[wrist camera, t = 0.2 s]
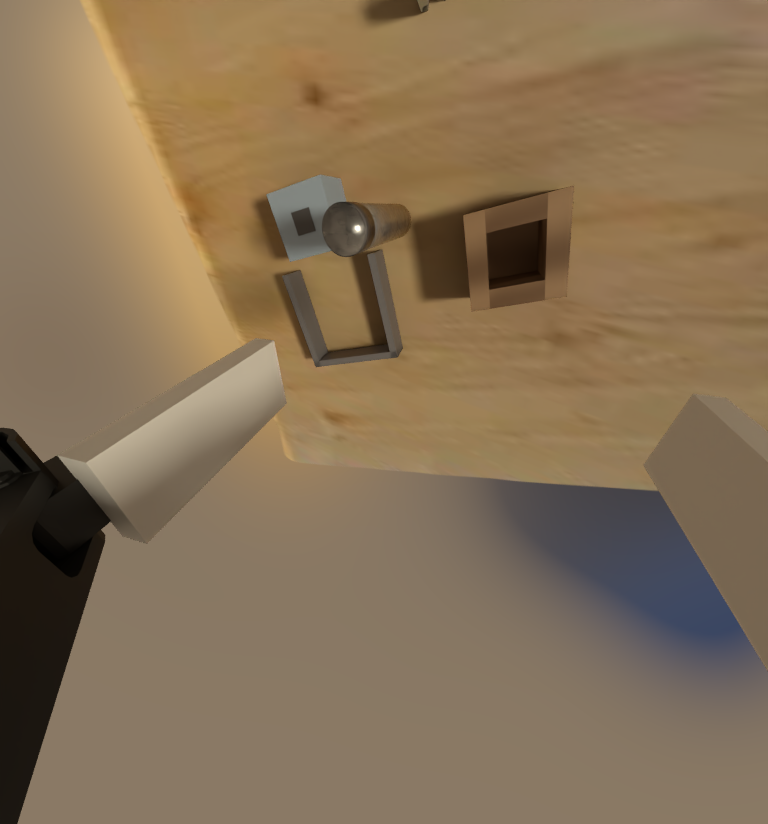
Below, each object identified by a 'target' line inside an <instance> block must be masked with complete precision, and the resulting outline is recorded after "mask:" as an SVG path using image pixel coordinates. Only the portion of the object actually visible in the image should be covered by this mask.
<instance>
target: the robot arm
mask: <svg viewBox="0 0 768 824" xmlns="http://www.w3.org/2000/svg"><path fill="white" fill-rule="evenodd" d="M285 404H286V398H285V393H284V388H283V383H282V378H281V373H280V368H279V363H278V358H277V353H276V348H275V343H274V341H273V340H266V339H258V338H255V339H254V340H252V341H250V342H249V343H247V344H245V345H243V346H242V347H240V348H238V349H237V350H235V351H233V352H232V353H230V354H229V355H226V356H225V357H223V358H222V359H220V360H218V361H216V362H215V363H213V364H212V365H209V366H208V367H206V368H204V369H203V370H201V371H199V372H198V373H196V374H194V375H192V376H191V377H189V378H187V379H186V380H184V381H182V382H181V383H179V384H177V385H176V386H174V387H172V388H170V389H169V390H167V391H165V392H164V393H162V394H161V395H159V396H157V397H155V398H153V399H152V400H150V401H148V402H147V403H145V404H143V405H142V406H140V407H138V408H137V409H135V410H133V411H132V412H130V413H128V414H126V415H124V416H123V417H122V418H119V419H118V420H116V421H114V422H113V423H111V424H109V425H108V426H106V427H104V428H102V429H101V430H99V431H97V432H96V433H94V434H92V435H91V436H89V437H87V438H85V439H84V440H82V441H80V442H79V443H77V444H75V445H74V446H72V447H70V448H68V449H67V450H65V451H63V452H62V453H60V454H58V455H57V456H55V457H54V458H52V459H50V460H48V461H46V462H44V463H43V462H42V461H41V460H40V459H39V458H38V456H37V455H36V454H35V453H34V452H33V451H32V450H31V448H30V447H29V446H28V445H27V444H26V443H25V441H24V440H23V439H22V438H21V437H20V436H19V435H18V433H17V432H16V431H15V430H13V429H8V428H0V824H17V823H18V819H19V816H20V813H21V810H22V807H23V803H24V800H25V797H26V794H27V791H28V787H29V784H30V781H31V778H32V775H33V771H34V768H35V765H36V761H37V758H38V755H39V752H40V749H41V745H42V742H43V739H44V736H45V733H46V730H47V726H48V723H49V720H50V717H51V713H52V710H53V707H54V704H55V700H56V698H57V694H58V691H59V688H60V685H61V681H62V678H63V675H64V672H65V669H66V665H67V662H68V659H69V656H70V653H71V649H72V646H73V643H74V640H75V637H76V633H77V630H78V627H79V624H80V620H81V617H82V614H83V610H84V608H85V604H86V601H87V598H88V595H89V592H90V588H91V585H92V582H93V579H94V576H95V572H96V569H97V566H98V563H99V559H100V556H101V553H102V550H103V547H104V543H105V534H104V533H103V532H102V531H101V529H102V528H103V527H105V526H106V525H107V524H108V523H109V522H110V521H111V522H112V523H113V525H114V526H115V527H116V529H117V530H118V531H119V532H120V533H121V535H122V536H124V537H127V538H130V539H133V540H137V541H139V542H143V543H146V544H147V543H148V542H149V541H150V540H151V539H152V538H153V537H154V536H155V535H156V534H157V533H158V532H159V531H160V530H161V529H162V528H163V527H164V526H165V525H166V524H167V523H168V522H169V521H170V520H171V519H172V518H173V517H174V516H175V515H176V514H177V513H178V512H179V511H180V510H181V509H182V508H183V507H184V506H185V505H186V504H187V503H188V502H189V501H190V500H191V499H192V498H193V497H194V496H195V495H196V494H197V493H198V492H199V491H200V490H201V489H202V488H203V487H204V486H205V485H206V484H207V483H208V482H209V481H210V480H211V479H212V478H213V477H214V476H215V475H216V474H217V473H218V472H219V471H220V470H221V469H222V468H223V466H225V465H226V464H227V462H229V461H230V460H231V459H232V458H233V457H234V456H235V455H236V454H237V453H238V451H240V449H242V448H243V447H244V446H245V444H246V443H247V442H249V440H251V439H252V438H253V436H254V435H255V434H256V433H257V432H258V431H259V430H260V429H261V428H262V427H263V426H264V425H265V424H266V423H267V422H268V421H269V420H270V419H271V418H272V417H273V416H274V415H275V414H276V413H277V412H278V411H279V410H280V409H281V408H282V407H283V406H284V405H285ZM644 467H645V469H646V470H647V472H648V474H649V475H650V477H651V479H652V480H653V482H654V484H655V485H656V487H657V489H658V490H659V492H660V494H661V495H662V497H663V499H664V500H665V502H666V503H667V505H668V507H669V508H670V510H671V512H672V513H673V515H674V517H675V518H676V520H677V522H678V523H679V525H680V526H681V528H682V530H683V531H684V533H685V535H686V537H687V538H688V540H689V541H690V543H691V545H692V546H693V548H694V550H695V551H696V553H697V555H698V556H699V558H700V559H701V561H702V563H703V565H704V566H705V568H706V570H707V571H708V573H709V575H710V576H711V578H712V580H713V581H714V583H715V585H716V586H717V588H718V590H719V591H720V593H721V595H722V596H723V598H724V599H725V601H726V603H727V604H728V606H729V608H730V609H731V611H732V613H733V614H734V616H735V618H736V619H737V621H738V623H739V624H740V626H741V628H742V629H743V631H744V632H745V634H746V636H747V637H748V639H749V641H750V643H751V644H752V646H753V647H754V649H755V651H756V652H757V654H758V656H759V657H760V659H761V661H762V662H763V664H764V666H765V667H766V669H767V671H768V431H767V430H765V429H764V428H763V427H762V426H760V425H759V424H758V423H757V422H755V421H754V420H753V419H752V418H750V417H749V416H748V415H747V414H746V413H744V412H743V411H742V410H741V409H739V408H738V407H737V406H736V405H734V404H733V403H732V402H731V401H729V400H728V399H727V398H724V397H716V396H708V395H700V394H692V396H691V397H690V399H689V400H688V402H687V403H686V404H685V406H684V407H683V409H682V410H681V412H680V413H679V415H678V416H677V417H676V419H675V420H674V422H673V423H672V425H671V426H670V428H669V429H668V430H667V432H666V433H665V435H664V436H663V438H662V439H661V440H660V442H659V443H658V445H657V446H656V448H655V449H654V451H653V452H652V453H651V455H650V456H649V458H648V459H647V461H646V462H645V464H644Z"/></svg>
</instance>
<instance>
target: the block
mask: <svg viewBox="0 0 768 824" xmlns="http://www.w3.org/2000/svg"><path fill="white" fill-rule="evenodd" d="M267 198H268V201H269V204H270V206H271V209H272V212H273V215H274V218H275V221H276V223H277V226H278V229H279V232H280V235H281V238H282V241H283V243H284V246H285V249H286V252H287V255H288V258H289V260H290V262H291V261H295V260H299V259H303V258H306V257H310V256H314V255H317V254H321V253H325V252H329V251H332V250H331V249H330V248H329V247H328V246H327V244H326V242H325V240H324V237H323V233H322V221H323V217H324V214H325V212H326V211H327V209H328V208H329V207H330V206H331V205H333V204H334V203H337V202H346V199H345V194H344V190H343V186H342V182H341V179H340V178H335V177H330V176H325V175H318V176H315V177H312V178H310V179H307V180H304V181H301V182H299V183H296V184H293V185H291V186H288V187H285V188H283V189H280V190H277V191H275V192H272V193H269V194H267Z"/></svg>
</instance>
